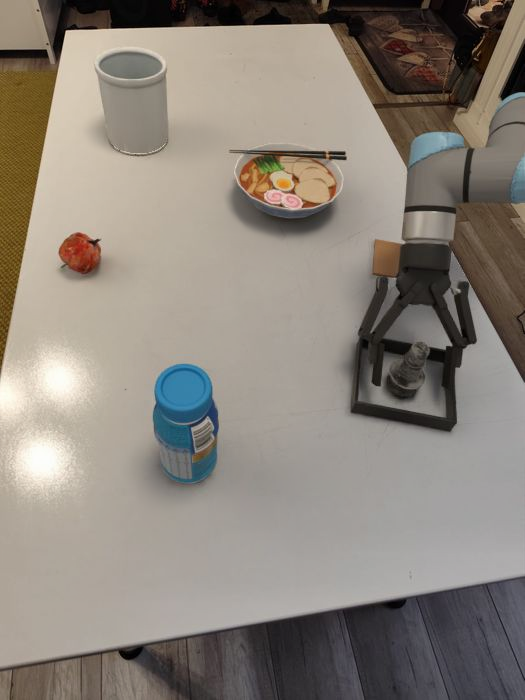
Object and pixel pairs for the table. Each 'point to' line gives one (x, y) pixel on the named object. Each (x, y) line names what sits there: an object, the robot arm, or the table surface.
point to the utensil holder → (134, 98)
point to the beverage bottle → (186, 423)
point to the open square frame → (400, 414)
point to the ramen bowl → (289, 178)
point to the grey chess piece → (408, 372)
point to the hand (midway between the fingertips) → (411, 386)
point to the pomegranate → (80, 253)
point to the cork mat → (386, 258)
